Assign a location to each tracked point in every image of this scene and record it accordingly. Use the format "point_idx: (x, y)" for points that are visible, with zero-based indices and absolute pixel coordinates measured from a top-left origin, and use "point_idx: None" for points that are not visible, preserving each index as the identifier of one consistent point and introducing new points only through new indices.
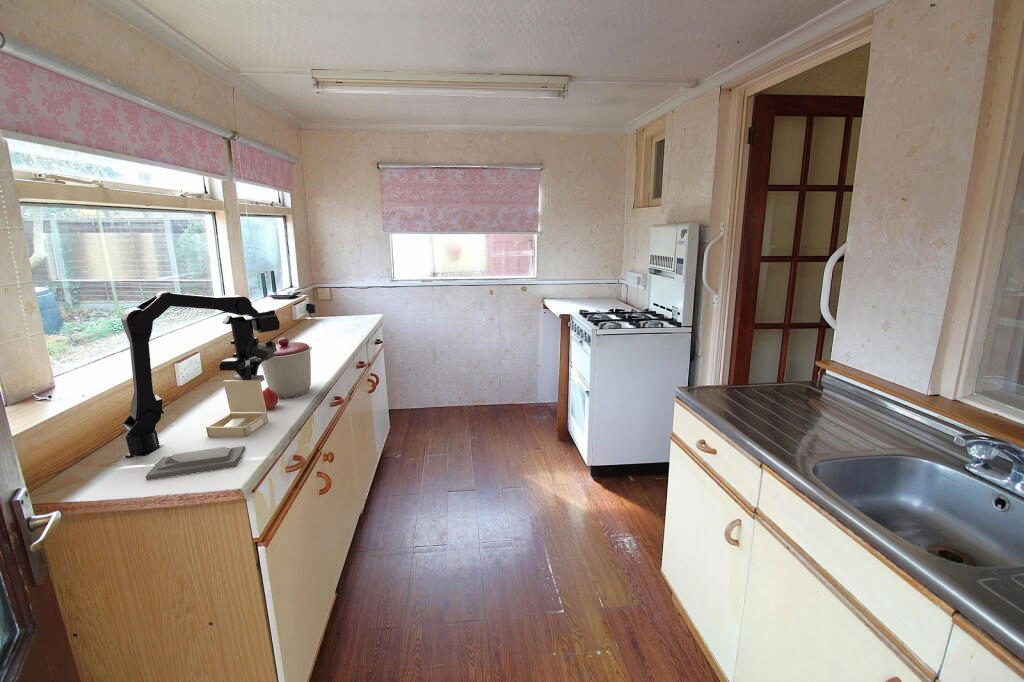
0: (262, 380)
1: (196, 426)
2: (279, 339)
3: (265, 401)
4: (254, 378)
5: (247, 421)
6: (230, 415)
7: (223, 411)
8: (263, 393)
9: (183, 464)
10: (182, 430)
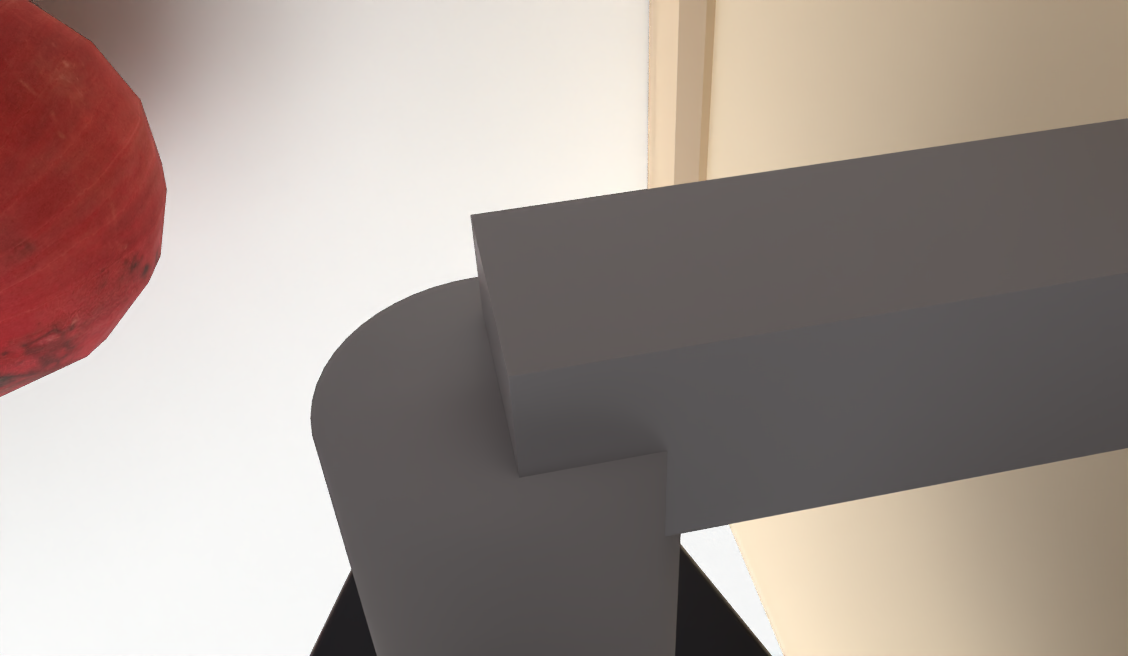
0: (696, 206)
1: (735, 548)
2: None
3: (130, 138)
4: (671, 630)
5: None
6: None
7: (300, 605)
8: (25, 312)
9: None
10: None
